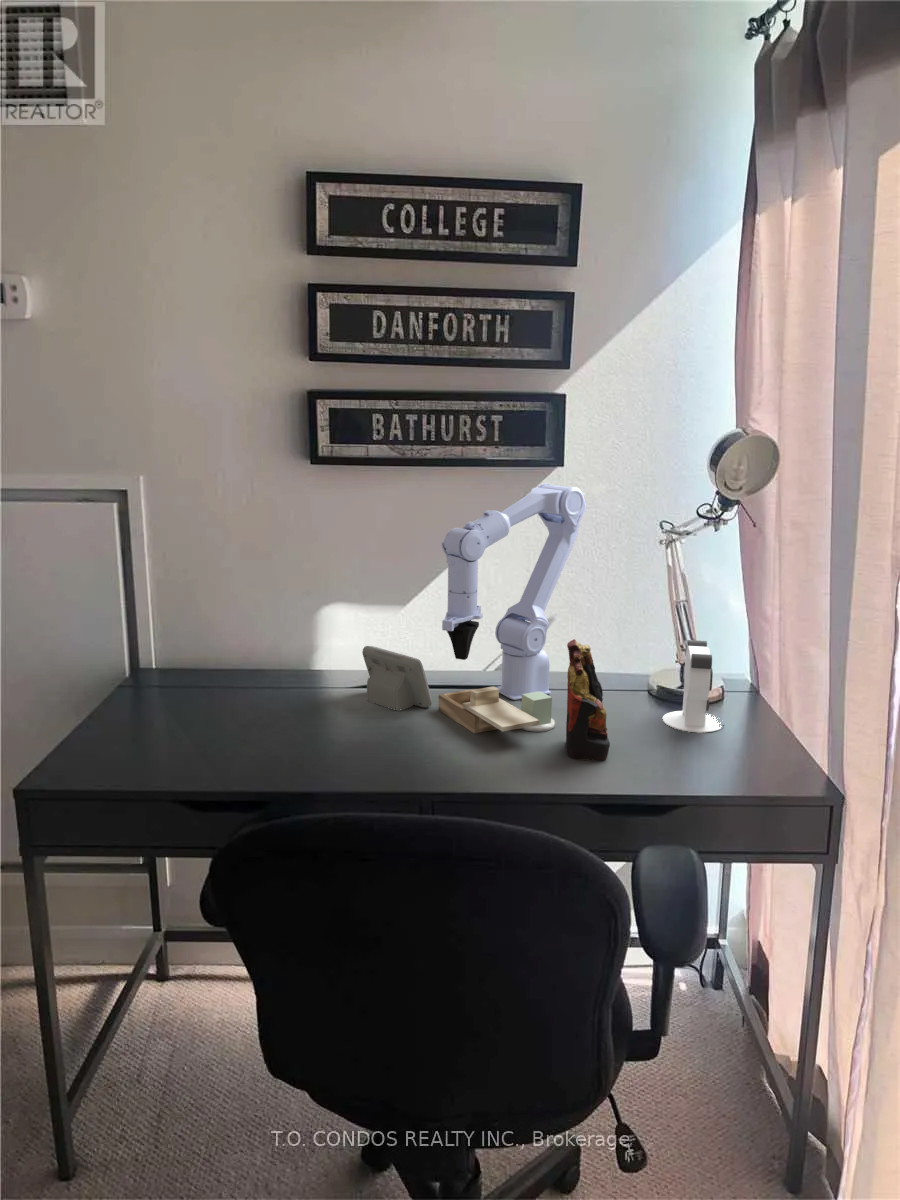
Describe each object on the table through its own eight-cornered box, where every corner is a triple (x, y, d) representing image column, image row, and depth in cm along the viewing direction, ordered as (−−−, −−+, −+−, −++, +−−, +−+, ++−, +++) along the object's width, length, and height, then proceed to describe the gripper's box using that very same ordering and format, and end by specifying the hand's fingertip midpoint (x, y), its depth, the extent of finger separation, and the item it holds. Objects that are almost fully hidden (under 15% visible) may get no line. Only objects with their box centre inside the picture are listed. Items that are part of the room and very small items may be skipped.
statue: (608, 764, 152) (614, 650, 147) (561, 760, 153) (565, 647, 148) (609, 737, 163) (615, 631, 159) (565, 734, 165) (569, 628, 160)
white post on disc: (727, 736, 164) (734, 657, 161) (664, 732, 166) (669, 654, 163) (720, 714, 176) (726, 640, 173) (660, 710, 178) (665, 637, 174)
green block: (539, 716, 171) (539, 691, 170) (550, 722, 168) (551, 697, 167) (521, 719, 169) (522, 694, 168) (532, 726, 166) (533, 700, 165)
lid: (497, 701, 171) (497, 684, 170) (538, 724, 159) (539, 706, 159) (462, 707, 168) (463, 690, 167) (502, 731, 156) (503, 713, 155)
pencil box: (473, 704, 180) (474, 688, 179) (511, 726, 168) (511, 710, 167) (438, 710, 176) (438, 694, 175) (474, 733, 164) (474, 716, 164)
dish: (540, 716, 173) (541, 712, 173) (562, 728, 167) (562, 724, 167) (510, 722, 170) (510, 718, 170) (530, 734, 164) (530, 730, 164)
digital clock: (436, 708, 177) (436, 657, 175) (397, 717, 172) (397, 664, 170) (392, 687, 190) (392, 638, 188) (355, 695, 185) (354, 645, 183)
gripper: (467, 600, 165) (466, 670, 168) (495, 585, 178) (493, 651, 181) (432, 596, 168) (431, 666, 171) (462, 582, 181) (461, 647, 184)
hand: (461, 658), depth 176 cm, fingers closed
